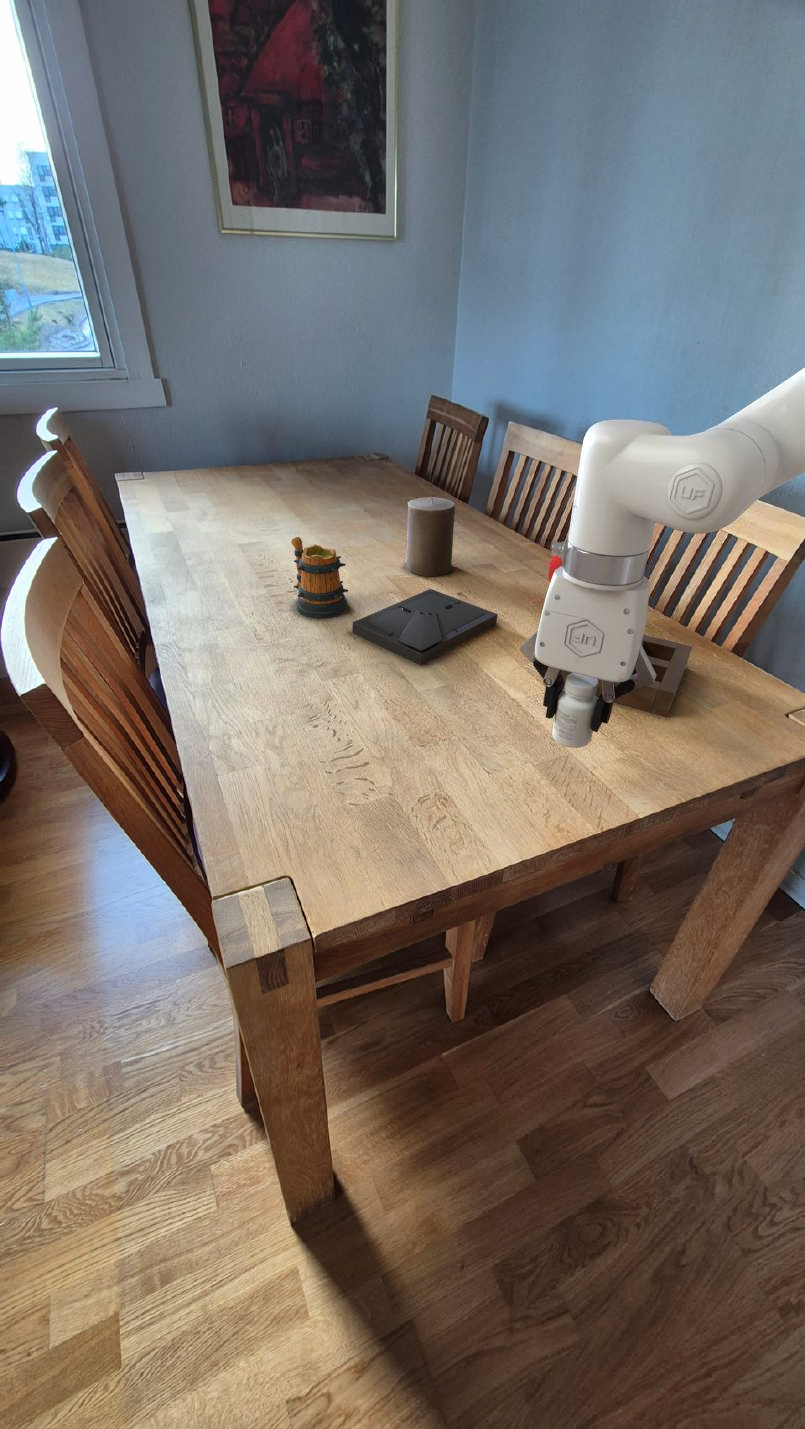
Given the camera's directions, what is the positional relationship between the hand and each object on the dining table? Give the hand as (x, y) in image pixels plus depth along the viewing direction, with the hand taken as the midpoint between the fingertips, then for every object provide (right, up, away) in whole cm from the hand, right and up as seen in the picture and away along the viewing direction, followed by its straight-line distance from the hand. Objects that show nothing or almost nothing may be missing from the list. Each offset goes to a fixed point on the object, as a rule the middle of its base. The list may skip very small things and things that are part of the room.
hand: (574, 717), depth 70 cm
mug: (-35, +21, +47) cm, 63 cm away
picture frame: (-15, +15, +40) cm, 46 cm away
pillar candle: (-14, +32, +64) cm, 73 cm away
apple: (+13, +22, +51) cm, 57 cm away
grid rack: (+15, +6, +28) cm, 33 cm away
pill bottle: (0, -2, +2) cm, 3 cm away
